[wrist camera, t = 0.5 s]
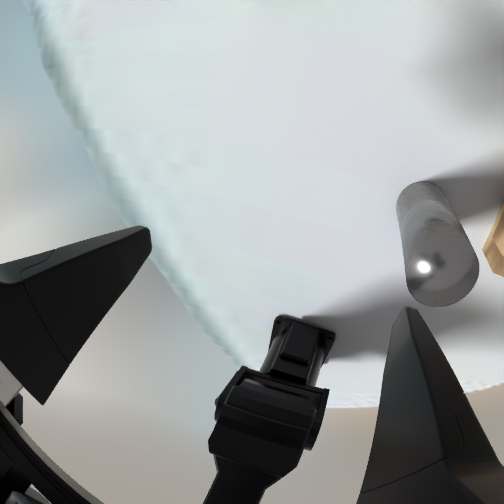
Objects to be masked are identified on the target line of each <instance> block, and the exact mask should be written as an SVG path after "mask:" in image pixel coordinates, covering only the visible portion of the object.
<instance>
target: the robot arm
mask: <svg viewBox="0 0 504 504" xmlns="http://www.w3.org/2000/svg"><path fill="white" fill-rule="evenodd" d="M151 250H152V243H151V235H150V230H149V229H148V228H147V227H144V226H140V225H139V226H134V227H131V228H127V229H123V230H119V231H115V232H112V233H108V234H104V235H101V236H97V237H94V238H90V239H87V240H83V241H80V242H77V243H73V244H70V245H66V246H63V247H60V248H57V249H53V250H50V251H46V252H43V253H40V254H37V255H33V256H29V257H26V258H22V259H18V260H14V261H11V262H7V263H4V264H0V504H50V503H49V502H48V501H50V502H51V503H52V504H104V503H102V502H101V501H100V500H98V499H97V498H96V497H94V496H93V495H92V494H90V493H89V492H88V491H87V490H85V489H84V488H83V487H82V486H80V485H79V484H78V483H77V482H76V481H74V480H73V479H72V478H71V477H70V476H69V475H67V474H66V473H65V472H64V471H63V470H62V469H61V468H60V467H59V466H58V465H57V464H56V463H55V462H53V461H52V460H51V459H50V458H49V457H48V456H47V455H46V454H45V453H44V452H43V451H42V450H41V448H40V447H38V445H37V444H36V443H35V442H34V441H33V440H32V439H31V438H30V437H29V435H28V434H27V433H26V432H25V431H24V430H23V428H22V427H21V424H22V423H23V397H22V395H21V394H20V393H19V391H20V390H21V389H22V388H23V387H24V388H25V389H26V390H27V391H28V392H29V393H30V394H31V395H32V396H33V397H34V398H35V399H36V400H37V401H38V402H39V403H40V404H41V405H44V404H45V402H46V401H47V399H48V397H49V396H50V394H51V393H52V391H53V390H54V388H55V386H56V385H57V383H58V382H59V380H60V379H61V377H62V376H63V374H64V373H65V371H66V370H67V368H68V367H69V364H71V362H72V361H73V359H74V358H75V356H76V355H77V353H78V352H79V351H80V349H81V348H82V346H83V345H84V344H85V342H86V341H87V339H88V338H89V337H90V335H91V334H92V332H93V331H94V330H95V328H96V327H97V326H98V324H99V323H100V322H101V320H102V319H103V318H104V316H105V315H106V314H107V312H108V311H109V309H110V308H111V307H112V306H113V305H114V303H115V302H116V301H117V299H118V298H119V297H120V296H121V294H122V293H123V292H124V290H125V289H126V288H127V287H128V285H129V284H130V283H131V281H132V280H133V278H134V277H135V275H136V274H137V272H138V270H139V269H140V268H141V266H142V265H143V263H144V262H145V260H146V259H147V257H148V256H149V254H150V253H151ZM335 337H336V334H335V333H333V332H330V331H326V330H323V329H320V328H316V327H313V326H309V325H306V324H303V323H300V322H296V321H293V320H290V319H287V318H283V317H280V316H277V317H276V318H275V320H274V325H273V330H272V335H271V340H270V345H269V350H268V354H267V356H266V358H265V360H264V363H263V365H262V367H261V369H260V371H256V370H252V369H249V368H248V367H246V366H242V367H241V368H240V370H239V371H237V372H236V374H235V375H234V377H233V378H232V379H231V381H230V382H229V383H228V385H227V386H226V387H225V389H224V390H223V392H222V393H221V394H220V396H219V397H218V398H216V400H215V405H216V411H215V421H217V423H216V425H215V428H214V430H213V432H212V434H211V436H210V438H209V440H208V445H209V452H210V453H212V454H213V455H214V460H215V465H216V469H217V475H216V477H215V480H214V481H213V484H212V486H211V488H210V490H209V492H208V494H207V496H206V498H205V500H204V502H203V504H259V503H260V501H261V499H262V497H263V495H264V492H265V490H266V489H267V488H268V487H270V486H271V485H272V484H274V483H276V482H277V481H278V480H280V479H281V478H282V477H284V476H285V475H287V474H288V473H289V472H290V471H292V470H293V469H294V468H296V467H297V465H298V463H299V460H300V457H301V455H302V452H303V450H304V449H306V450H310V451H311V449H312V448H313V446H314V443H315V441H316V439H317V436H318V433H319V430H320V427H321V424H322V420H323V416H324V412H325V408H326V404H327V399H328V395H329V390H330V389H326V388H324V389H322V388H318V387H315V385H316V382H317V378H318V375H319V371H320V368H321V367H322V365H323V363H324V361H325V359H326V357H327V355H328V353H329V351H330V349H331V347H332V345H333V343H334V341H335ZM463 393H464V391H463V389H462V387H461V385H460V383H459V381H458V379H457V377H456V375H455V374H454V372H453V370H452V368H451V366H450V364H449V362H448V361H447V359H446V357H445V355H444V353H443V352H442V350H441V348H440V346H439V345H438V343H437V341H436V340H435V338H434V336H433V335H432V333H431V331H430V330H429V328H428V326H427V325H426V323H425V321H424V320H423V318H422V317H421V315H420V314H419V312H418V311H417V309H415V308H411V307H408V306H406V307H404V308H403V310H402V311H401V313H400V315H399V316H398V318H397V320H396V321H395V323H394V325H393V328H392V332H391V337H390V343H389V348H388V353H387V358H386V363H385V368H384V373H383V381H382V389H381V397H380V404H379V410H378V416H377V422H376V428H375V433H374V438H373V443H372V448H371V452H370V456H369V461H368V465H367V469H366V473H365V477H364V480H363V484H362V487H361V491H360V494H359V497H358V500H357V504H504V466H503V465H502V464H501V463H500V461H499V460H498V458H497V456H496V454H495V452H494V450H493V448H492V446H491V444H490V442H489V440H488V438H487V436H486V434H485V433H484V431H483V429H482V427H481V425H480V423H479V421H478V419H477V417H476V415H475V413H474V411H473V409H472V407H471V405H470V403H469V401H468V399H467V397H466V395H465V394H463ZM31 484H33V485H34V486H35V488H36V489H37V490H39V492H40V493H41V494H42V495H44V497H45V498H46V499H45V498H44V497H43V496H42V495H41V494H40V493H38V492H37V491H35V490H33V489H32V488H31V487H30V485H31ZM47 500H48V501H47Z"/></svg>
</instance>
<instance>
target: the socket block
mask: <svg viewBox="0 0 504 504" xmlns="http://www.w3.org/2000/svg"><path fill="white" fill-rule="evenodd" d="M482 251H483V253H484V255H485V257H486V259H487V261H488V263H489V265H490V267H491V269H492V271H493V273H495V274H498V275H501V276H503V277H504V201H503V204H502V206H501V209H500V212H499V214H498V216H497V219H496V221H495V224H494V226H493V228H492V230H491V233H490V235H489V237H488V239H487V241H486V243H485V245H484V247H483V249H482Z"/></svg>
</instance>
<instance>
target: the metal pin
mask: <svg viewBox="0 0 504 504" xmlns="http://www.w3.org/2000/svg"><path fill="white" fill-rule="evenodd" d="M396 210H397V216H398V222H399V228H400V234H401V240H402V247H403V255H404V263H405V272H406V282H407V287H408V290H409V292H410V294H411V295H412V296H413V297H414V298H415V299H416V300H417V301H418V302H420V303H422V304H424V305H427V306H431V307H443V306H448V305H451V304H454V303H456V302H458V301H459V300H461V299H462V298H464V297H465V296H466V295H467V294H468V293H469V292H470V291H471V290H472V288H473V287H474V285H475V283H476V281H477V279H478V275H479V261H478V258H477V255H476V253H475V251H474V249H473V247H472V245H471V243H470V241H469V239H468V237H467V235H466V233H465V231H464V229H463V227H462V225H461V223H460V222H459V220H458V218H457V216H456V214H455V213H454V211H453V209H452V207H451V206H450V204H449V202H448V201H447V199H446V197H445V196H444V194H443V193H442V191H441V190H440V189H439V188H438V187H437V186H435V185H434V184H431V183H428V182H416V183H413V184H411V185H409V186H407V187H406V188H405V189H404V190H403V191H402V192H401V194H400V196H399V198H398V200H397V206H396Z"/></svg>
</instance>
